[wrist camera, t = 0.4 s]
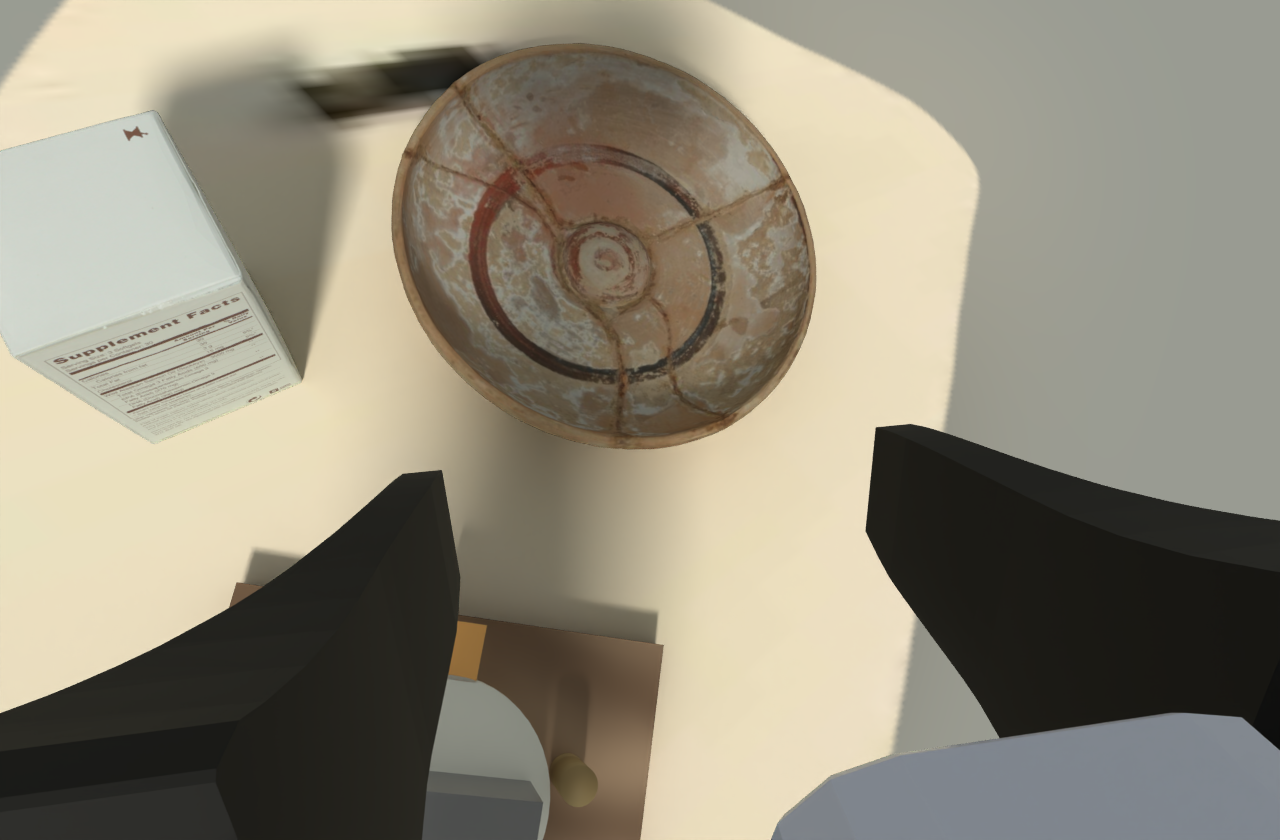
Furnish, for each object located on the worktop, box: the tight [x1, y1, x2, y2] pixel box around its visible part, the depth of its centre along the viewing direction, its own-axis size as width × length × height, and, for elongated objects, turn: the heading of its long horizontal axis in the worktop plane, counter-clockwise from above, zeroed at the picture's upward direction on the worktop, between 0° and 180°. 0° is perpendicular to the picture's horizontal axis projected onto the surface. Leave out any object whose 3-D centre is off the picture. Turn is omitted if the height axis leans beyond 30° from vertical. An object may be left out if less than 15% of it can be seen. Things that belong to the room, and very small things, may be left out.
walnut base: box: [229, 583, 664, 840], centre depth 31 cm, size 15×20×5 cm
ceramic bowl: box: [392, 43, 816, 449], centre depth 41 cm, size 23×24×5 cm
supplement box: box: [0, 110, 302, 444], centre depth 30 cm, size 7×7×13 cm
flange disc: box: [422, 621, 550, 840], centre depth 28 cm, size 12×10×5 cm
